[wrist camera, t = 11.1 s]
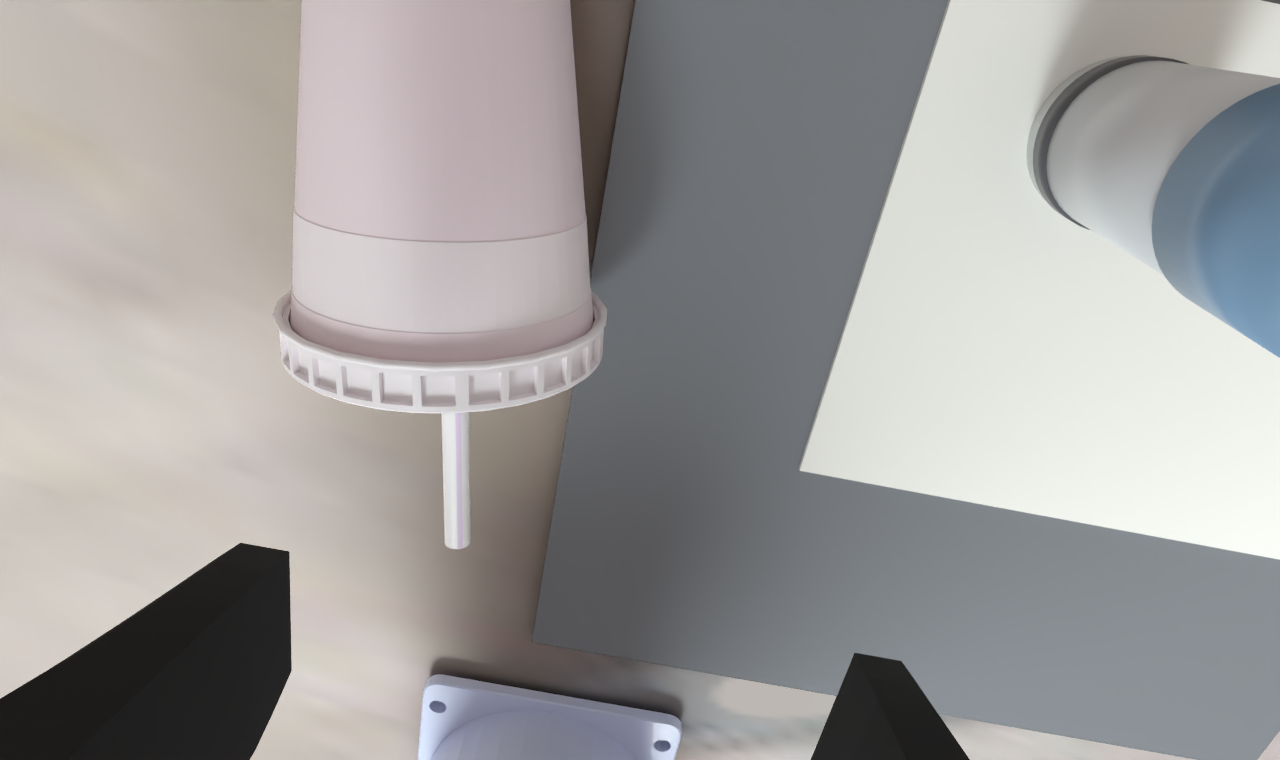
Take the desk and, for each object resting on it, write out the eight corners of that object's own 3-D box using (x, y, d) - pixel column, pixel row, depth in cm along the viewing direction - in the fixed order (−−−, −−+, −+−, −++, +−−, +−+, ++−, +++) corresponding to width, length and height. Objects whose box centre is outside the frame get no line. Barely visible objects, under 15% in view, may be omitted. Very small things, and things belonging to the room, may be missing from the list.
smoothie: (712, -233, 11) (639, 585, 17) (565, -158, 17) (546, 445, 22) (193, -353, 9) (307, 656, 14) (215, -220, 14) (292, 478, 20)
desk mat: (1244, 760, 25) (1250, 768, 24) (533, 634, 24) (531, 642, 24) (1852, -37, 15) (1873, -37, 15) (683, -287, 14) (682, -292, 14)
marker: (1153, 235, 17) (1469, 408, 10) (997, 206, 17) (1202, 359, 10) (1230, 67, 16) (1666, 131, 9) (1059, 36, 16) (1352, 72, 9)
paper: (1397, 578, 21) (1402, 582, 21) (798, 467, 21) (799, 470, 20) (1763, 105, 16) (1773, 106, 16) (967, -60, 15) (970, -60, 15)
